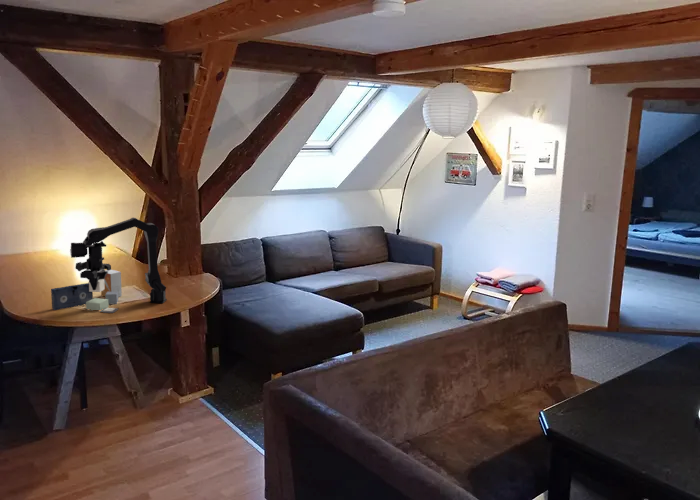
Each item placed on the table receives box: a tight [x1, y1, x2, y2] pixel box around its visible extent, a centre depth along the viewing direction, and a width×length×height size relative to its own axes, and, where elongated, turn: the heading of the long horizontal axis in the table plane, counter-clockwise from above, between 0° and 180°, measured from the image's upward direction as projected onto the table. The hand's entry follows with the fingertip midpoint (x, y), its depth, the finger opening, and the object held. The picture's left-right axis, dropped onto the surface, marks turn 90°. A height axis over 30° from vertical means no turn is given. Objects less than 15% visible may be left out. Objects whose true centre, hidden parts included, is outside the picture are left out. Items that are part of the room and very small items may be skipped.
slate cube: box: [105, 291, 119, 305], centre depth 270 cm, size 5×5×5 cm
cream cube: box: [88, 279, 105, 293], centre depth 259 cm, size 5×5×5 cm
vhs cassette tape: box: [50, 282, 94, 311], centre depth 262 cm, size 18×3×10 cm, turn 139°
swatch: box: [99, 307, 119, 314], centre depth 258 cm, size 6×6×1 cm
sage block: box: [85, 297, 110, 311], centre depth 261 cm, size 7×7×4 cm
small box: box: [100, 269, 123, 298], centre depth 280 cm, size 8×6×13 cm
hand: (96, 288), depth 259 cm, fingers closed on cream cube, 5 cm apart
